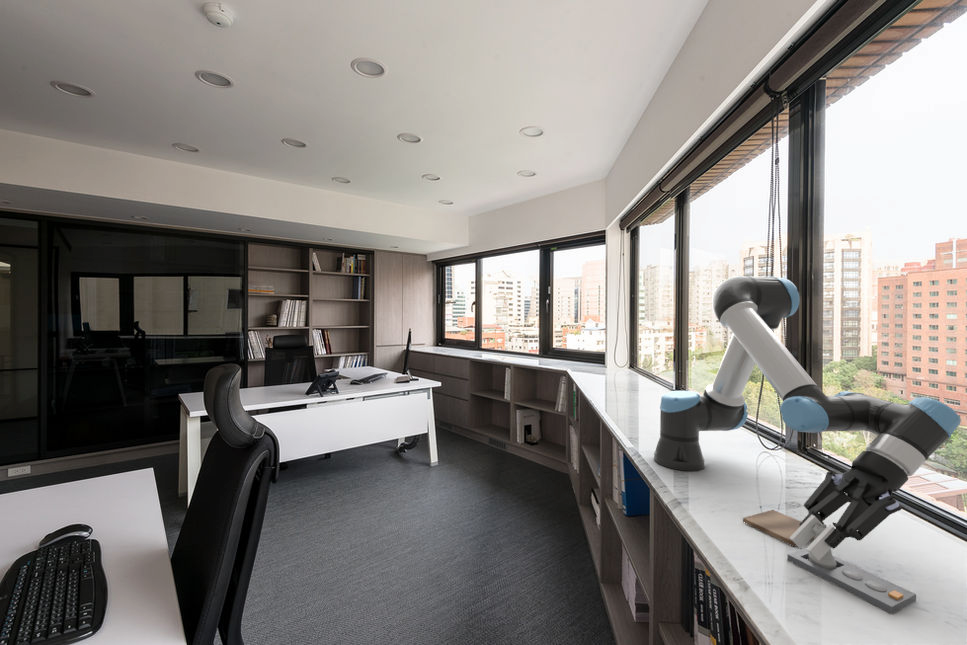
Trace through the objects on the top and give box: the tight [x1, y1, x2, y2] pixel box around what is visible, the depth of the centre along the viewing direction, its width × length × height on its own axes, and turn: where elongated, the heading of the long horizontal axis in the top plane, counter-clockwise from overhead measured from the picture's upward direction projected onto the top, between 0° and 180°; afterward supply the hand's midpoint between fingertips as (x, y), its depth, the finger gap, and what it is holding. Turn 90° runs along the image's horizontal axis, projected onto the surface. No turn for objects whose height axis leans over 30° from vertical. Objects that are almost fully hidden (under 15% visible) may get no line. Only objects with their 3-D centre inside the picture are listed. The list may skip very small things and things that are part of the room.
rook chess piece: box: [808, 523, 837, 571], centre depth 80 cm, size 4×4×8 cm
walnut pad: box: [742, 509, 815, 547], centre depth 94 cm, size 11×11×1 cm
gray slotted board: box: [786, 546, 917, 615], centre depth 76 cm, size 16×8×2 cm, turn 23°
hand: (803, 548), depth 80 cm, fingers closed on rook chess piece, 3 cm apart
